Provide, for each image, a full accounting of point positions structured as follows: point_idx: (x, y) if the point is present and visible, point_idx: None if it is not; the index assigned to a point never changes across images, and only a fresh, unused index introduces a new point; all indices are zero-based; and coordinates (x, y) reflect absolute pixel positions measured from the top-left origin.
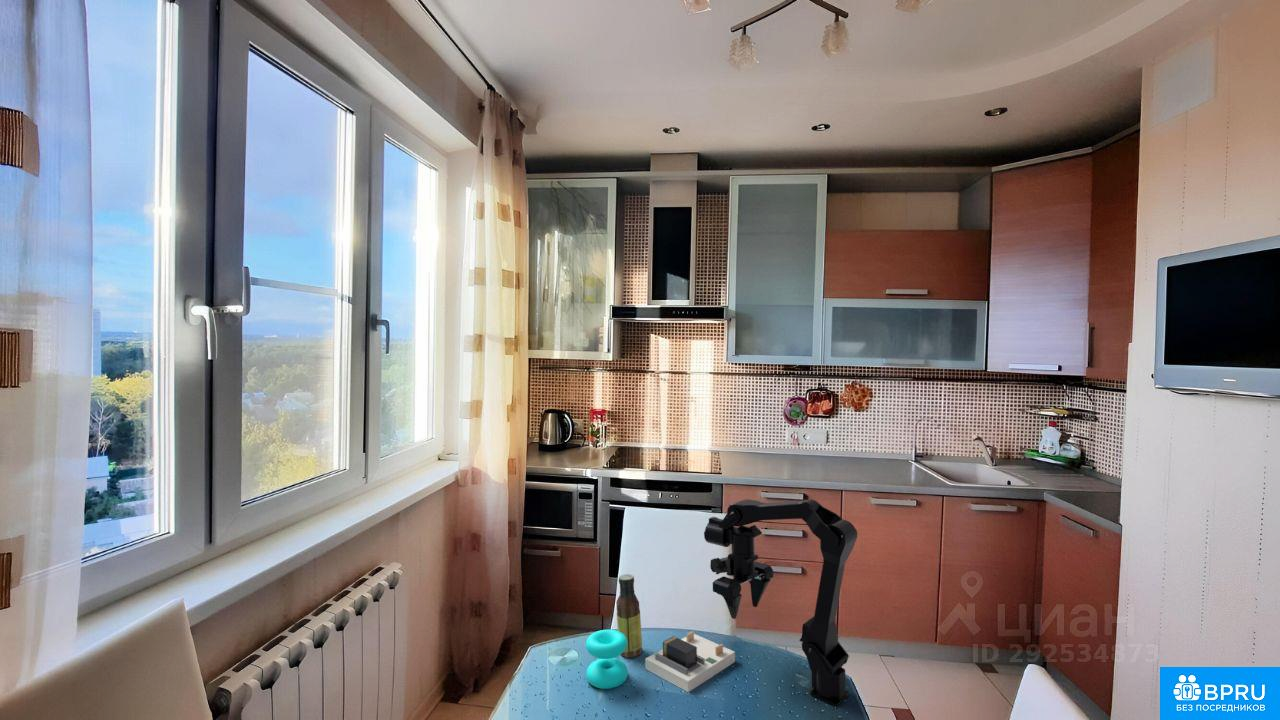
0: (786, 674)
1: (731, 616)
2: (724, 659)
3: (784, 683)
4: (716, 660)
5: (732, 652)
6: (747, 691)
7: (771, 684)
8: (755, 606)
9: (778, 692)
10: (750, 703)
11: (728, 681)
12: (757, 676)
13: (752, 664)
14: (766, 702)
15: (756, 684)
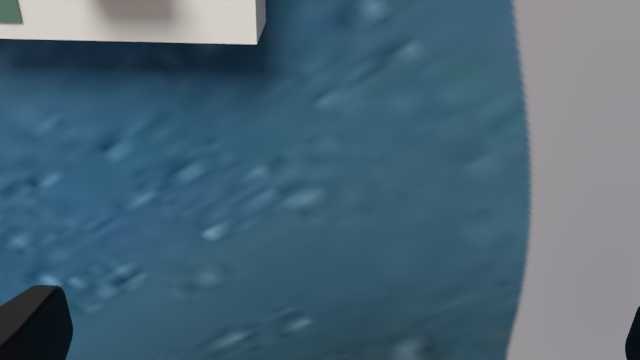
0: (370, 314)
1: (18, 304)
2: (109, 38)
3: (284, 340)
4: (25, 11)
5: (233, 35)
6: (67, 253)
7: (225, 304)
8: (631, 349)
9: (193, 353)
10: None
11: (43, 128)
12: (232, 220)
13: (327, 131)
14: (80, 351)
15: (160, 254)
